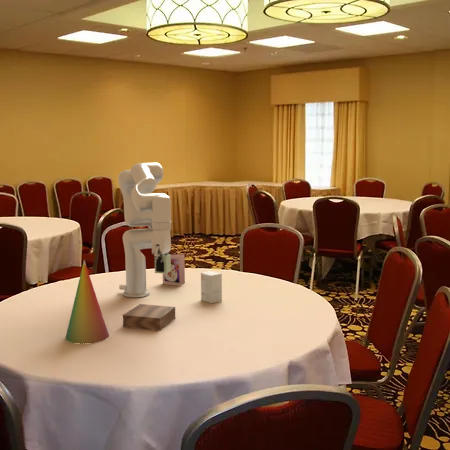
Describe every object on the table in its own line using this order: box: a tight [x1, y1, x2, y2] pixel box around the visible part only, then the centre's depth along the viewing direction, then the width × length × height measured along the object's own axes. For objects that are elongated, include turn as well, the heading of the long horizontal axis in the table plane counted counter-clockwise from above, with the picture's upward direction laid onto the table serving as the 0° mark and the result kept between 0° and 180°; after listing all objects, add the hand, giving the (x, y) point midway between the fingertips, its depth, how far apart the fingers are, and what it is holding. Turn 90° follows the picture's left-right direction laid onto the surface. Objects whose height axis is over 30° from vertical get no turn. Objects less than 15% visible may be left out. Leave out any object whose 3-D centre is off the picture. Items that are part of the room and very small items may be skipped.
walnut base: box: [122, 303, 176, 332], centre depth 237 cm, size 16×16×5 cm
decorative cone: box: [65, 260, 110, 345], centre depth 219 cm, size 16×16×30 cm
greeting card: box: [162, 253, 186, 287], centre depth 300 cm, size 11×7×15 cm, turn 62°
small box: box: [200, 270, 223, 304], centre depth 268 cm, size 8×6×13 cm
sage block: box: [154, 253, 172, 275], centre depth 237 cm, size 5×5×7 cm
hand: (162, 269), depth 238 cm, fingers closed on sage block, 5 cm apart
